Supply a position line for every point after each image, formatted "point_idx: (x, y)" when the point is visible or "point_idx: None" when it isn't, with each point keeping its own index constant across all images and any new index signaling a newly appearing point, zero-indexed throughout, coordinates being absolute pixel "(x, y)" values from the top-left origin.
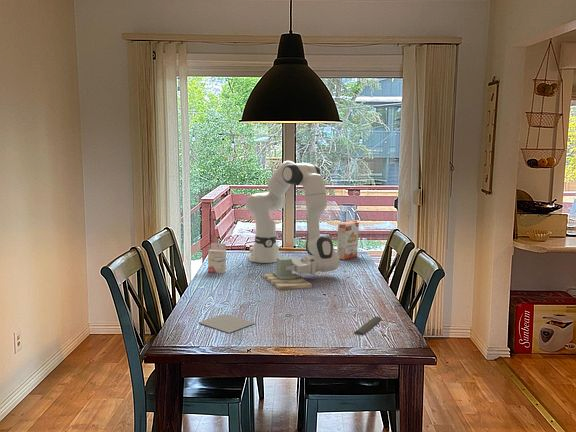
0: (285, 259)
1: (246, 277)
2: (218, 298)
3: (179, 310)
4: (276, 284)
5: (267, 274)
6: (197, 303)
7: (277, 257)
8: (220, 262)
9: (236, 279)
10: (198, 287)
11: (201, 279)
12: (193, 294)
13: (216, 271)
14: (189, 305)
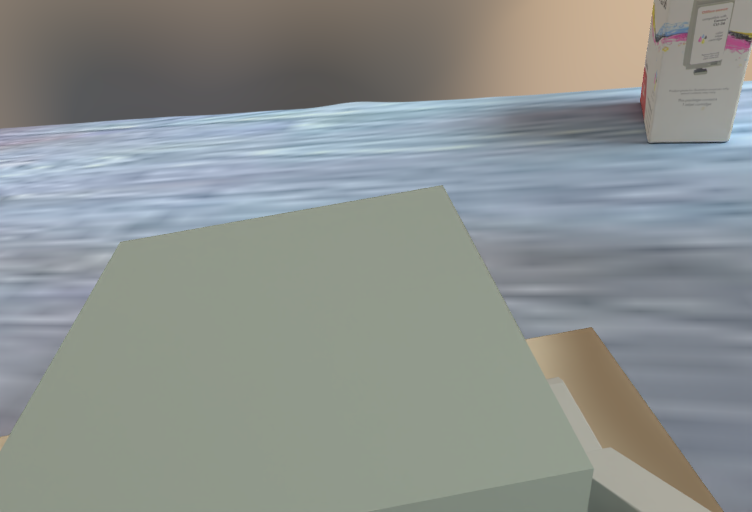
0: (91, 335)
1: (524, 241)
2: (73, 178)
3: (30, 129)
4: (8, 436)
5: (543, 370)
6: (65, 145)
7: (433, 196)
8: (656, 49)
9: (452, 200)
10: (305, 119)
11: (462, 107)
12: (199, 124)
13: (644, 112)
14: (61, 136)
